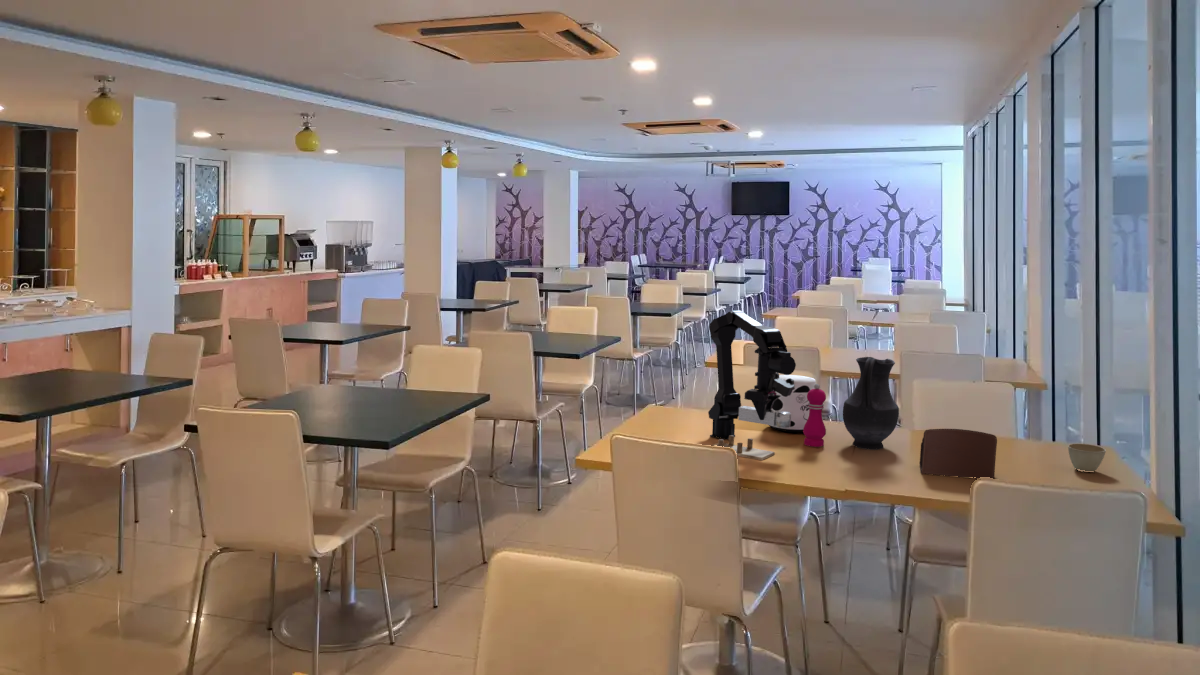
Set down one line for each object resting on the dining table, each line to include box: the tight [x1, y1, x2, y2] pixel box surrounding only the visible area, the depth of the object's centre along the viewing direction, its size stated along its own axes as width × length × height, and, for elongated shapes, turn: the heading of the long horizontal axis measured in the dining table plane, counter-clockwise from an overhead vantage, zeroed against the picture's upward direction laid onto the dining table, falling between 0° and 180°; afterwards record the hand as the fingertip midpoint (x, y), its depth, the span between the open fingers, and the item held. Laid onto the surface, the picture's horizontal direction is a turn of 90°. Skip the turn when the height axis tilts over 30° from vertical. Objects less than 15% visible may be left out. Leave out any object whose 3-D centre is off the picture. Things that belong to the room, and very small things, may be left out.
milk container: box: [768, 374, 817, 433], centre depth 323 cm, size 17×17×18 cm
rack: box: [713, 435, 776, 461], centre depth 290 cm, size 19×9×4 cm, turn 55°
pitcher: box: [842, 356, 900, 451], centre depth 299 cm, size 17×21×30 cm
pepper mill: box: [803, 383, 827, 448], centre depth 302 cm, size 7×7×20 cm
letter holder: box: [919, 428, 998, 480], centre depth 272 cm, size 10×20×14 cm, turn 74°
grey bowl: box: [1067, 442, 1107, 472], centre depth 278 cm, size 10×10×7 cm
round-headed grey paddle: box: [737, 405, 791, 428], centre depth 290 cm, size 16×5×4 cm, turn 57°
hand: (764, 418), depth 290 cm, fingers closed on round-headed grey paddle, 3 cm apart
